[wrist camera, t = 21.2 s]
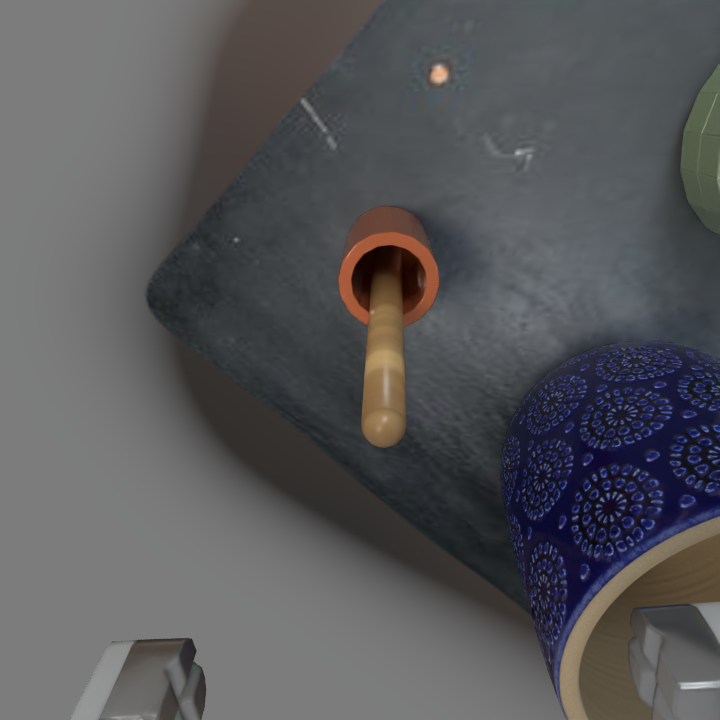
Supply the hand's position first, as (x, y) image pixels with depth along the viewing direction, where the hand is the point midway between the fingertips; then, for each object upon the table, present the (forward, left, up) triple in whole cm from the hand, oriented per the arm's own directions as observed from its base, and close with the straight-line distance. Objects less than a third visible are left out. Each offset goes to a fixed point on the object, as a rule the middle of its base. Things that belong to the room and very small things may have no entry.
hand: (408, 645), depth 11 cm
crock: (0, 0, -31) cm, 31 cm away
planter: (+15, +15, -31) cm, 38 cm away
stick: (0, 0, -30) cm, 31 cm away
